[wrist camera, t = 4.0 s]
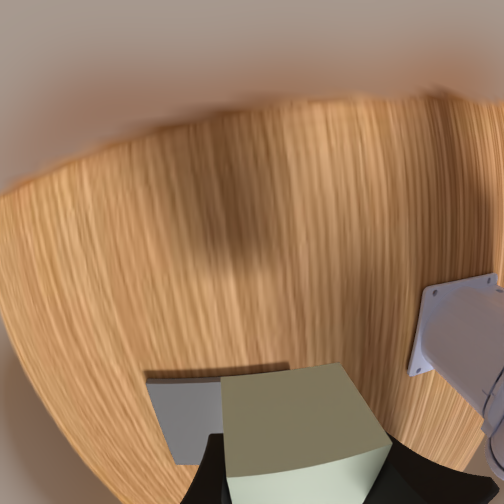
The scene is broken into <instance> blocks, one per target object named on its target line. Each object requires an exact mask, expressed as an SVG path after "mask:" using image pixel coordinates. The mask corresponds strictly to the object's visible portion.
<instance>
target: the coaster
mask: <svg viewBox="0 0 504 504" xmlns="http://www.w3.org/2000/svg"><path fill="white" fill-rule="evenodd" d="M283 371H287V370H283ZM275 372H279V371H275ZM266 373H271V372H266ZM257 374H262V373H257ZM247 375H252V374H247ZM236 376H242V375H236ZM222 377H229V376H222ZM146 386H147V389H148V392H149V395H150V398H151V401H152V404H153V407H154V410H155V413H156V416H157V418H158V421H159V424H160V427H161V429H162V432H163V434H164V437H165V439H166V442H167V444H168V447H169V449H170V452H171V454H172V456H173V459H174V461H175V463H176V465H200V463H201V461H202V458H203V455H204V452H205V449H206V445H207V441H208V436H209V435H210V434H211V433H223V418H222V399H221V378H220V377H205V378H178V379H147V381H146Z"/></svg>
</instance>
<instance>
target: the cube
mask: <svg viewBox="0 0 504 504" xmlns="http://www.w3.org/2000/svg"><path fill="white" fill-rule="evenodd" d="M220 378H221V399H222V418H223V435H224V450H225V464H226V477H227V482H228V486H229V491H230V495H231V499H232V504H362V503H363V502H364V500H365V498H366V496H367V495H368V493H369V491H370V489H371V487H372V485H373V483H374V482H375V480H376V478H377V476H378V474H379V472H380V470H381V468H382V466H383V464H384V461H385V459H386V457H387V455H388V453H389V451H390V448H391V446H392V444H393V443H392V442H391V440H390V439H389V437H388V435H387V434H386V432H385V431H384V429H383V428H382V426H381V425H380V423H379V422H378V420H377V419H376V417H375V416H374V414H373V413H372V411H371V409H370V408H369V406H368V405H367V403H366V402H365V400H364V399H363V397H362V396H361V394H360V393H359V391H358V390H357V388H356V387H355V385H354V384H353V382H352V381H351V379H350V378H349V376H348V375H347V373H346V372H345V370H344V369H343V367H342V366H341V364H340V363H339V362H337V363H331V364H326V365H320V366H314V367H308V368H301V369H294V370H287V371H279V372H271V373H262V374H252V375H242V376H229V377H220Z"/></svg>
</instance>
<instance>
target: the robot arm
mask: <svg viewBox="0 0 504 504" xmlns="http://www.w3.org/2000/svg"><path fill="white" fill-rule="evenodd" d="M497 279H498V276H497V274H496V273H490V274H485V275H481V276H476V277H472V278H467V279H462V280H457V281H452V282H447V283H442V284H437V285H432V286H428V287H426V288H425V289H424V291H423V294H422V301H421V308H420V314H419V320H418V325H417V330H416V335H415V340H414V345H413V349H412V354H411V358H410V362H409V366H408V370H407V374H408V375H409V376H410V377H412V376H415V375H418V374H421V373H424V372H427V371H430V370H433V369H435V370H436V371H437V372H438V373H439V374H440V375H441V376H442V377H443V378H444V379H445V380H446V381H447V382H448V383H449V384H450V385H451V386H452V387H453V388H454V389H455V390H456V391H457V392H458V393H459V394H460V395H461V396H462V397H463V398H464V399H465V400H466V401H467V402H468V403H469V404H470V405H471V406H472V407H473V408H474V409H475V410H476V411H477V412H478V413H479V414H480V415H481V416H482V417H483V418H484V422H483V425H482V426H481V430H482V431H483V432H484V433H485V434H486V435H487V436H488V437H487V440H486V442H485V457H486V460H487V463H488V464H489V467H490V468H491V470H492V471H493V472H494V473H495V474H496V475H497V476H498V477H499V478H501V479H502V480H504V288H502V287H500V286H498V285H496V284H497ZM434 290H435V291H434ZM433 291H434V293H433ZM384 431H385V430H384ZM385 432H386V431H385ZM386 434H387V435H388V437H389V439H390V440H391V442H392V443H393V444H392V446H391V448H390V451H389V453H388V455H387V457H386V459H385V461H384V464H383V466H382V468H381V470H380V472H379V474H378V476H377V478H376V480H375V482H374V483H373V485H372V487H371V489H370V491H369V493H368V495H367V496H366V500H367V502H368V504H488V503H489V502H490V501H491V500H492V499H493V498H494V497H495V496H496V495H497V493H498V492H499V487H498V486H497V484H496V483H495V482H494V481H493V480H492V478H491V477H484V476H477V475H472V474H467V473H463V472H459V471H456V470H453V469H450V468H447V467H445V466H442V465H439V464H437V463H435V462H432V461H430V460H428V459H426V458H424V457H422V456H421V455H419V454H417V453H416V452H414V451H412V450H411V449H409V448H408V447H406V446H405V445H403V444H402V443H400V442H399V441H398V440H396V439H395V438H394V437H392V436H391V435H390V434H388V433H387V432H386ZM180 504H232V499H231V495H230V491H229V486H228V482H227V477H226V464H225V450H224V435H223V433H211V434H210V435H209V436H208V441H207V445H206V449H205V452H204V455H203V458H202V461H201V463H200V466H199V468H198V470H197V473H196V475H195V477H194V479H193V481H192V483H191V485H190V487H189V489H188V491H187V493H186V495H185V496H184V498H183V500H182V501H181V503H180Z"/></svg>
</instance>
